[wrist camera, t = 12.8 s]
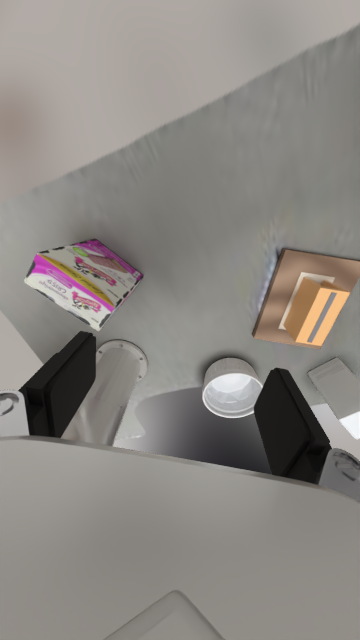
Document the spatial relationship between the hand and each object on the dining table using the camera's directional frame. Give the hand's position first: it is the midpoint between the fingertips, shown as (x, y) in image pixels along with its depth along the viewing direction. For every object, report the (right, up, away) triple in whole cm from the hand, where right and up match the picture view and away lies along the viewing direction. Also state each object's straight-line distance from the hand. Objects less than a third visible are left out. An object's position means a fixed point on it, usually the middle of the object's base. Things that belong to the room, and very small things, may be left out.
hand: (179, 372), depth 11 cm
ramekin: (+12, -10, +41) cm, 44 cm away
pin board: (+24, +6, +31) cm, 39 cm away
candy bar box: (-13, +13, +30) cm, 35 cm away
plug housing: (+24, +6, +29) cm, 38 cm away
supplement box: (+34, -10, +38) cm, 52 cm away
